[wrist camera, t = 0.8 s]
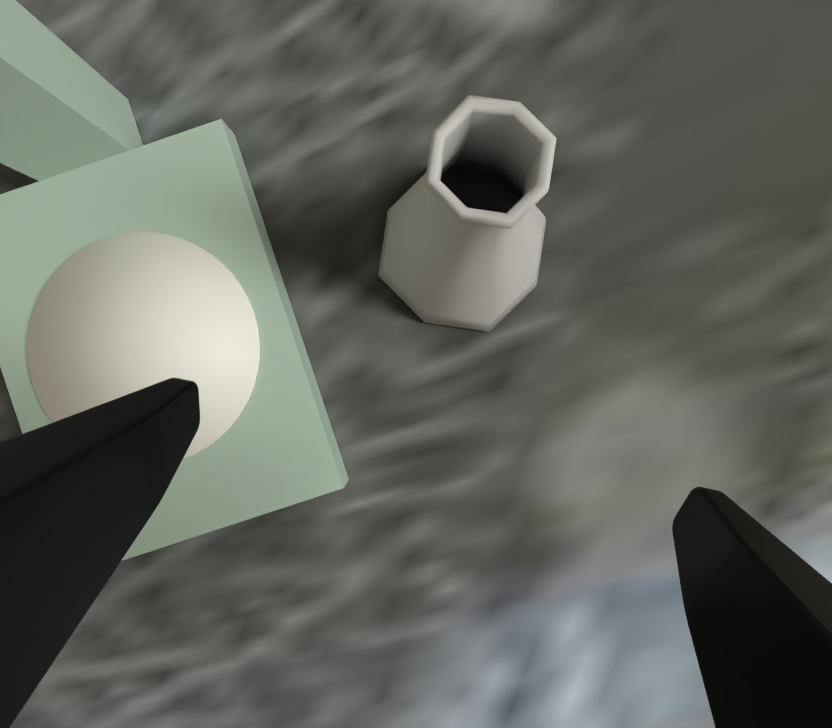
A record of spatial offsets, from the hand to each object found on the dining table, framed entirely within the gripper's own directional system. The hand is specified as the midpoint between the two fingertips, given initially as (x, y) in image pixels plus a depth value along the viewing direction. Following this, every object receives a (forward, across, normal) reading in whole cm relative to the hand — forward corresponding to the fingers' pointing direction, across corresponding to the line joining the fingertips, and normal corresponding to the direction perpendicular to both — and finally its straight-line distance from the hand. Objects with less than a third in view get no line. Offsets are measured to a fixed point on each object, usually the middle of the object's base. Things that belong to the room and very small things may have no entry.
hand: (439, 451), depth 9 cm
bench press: (+13, +14, +3) cm, 20 cm away
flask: (+15, 0, +1) cm, 15 cm away
